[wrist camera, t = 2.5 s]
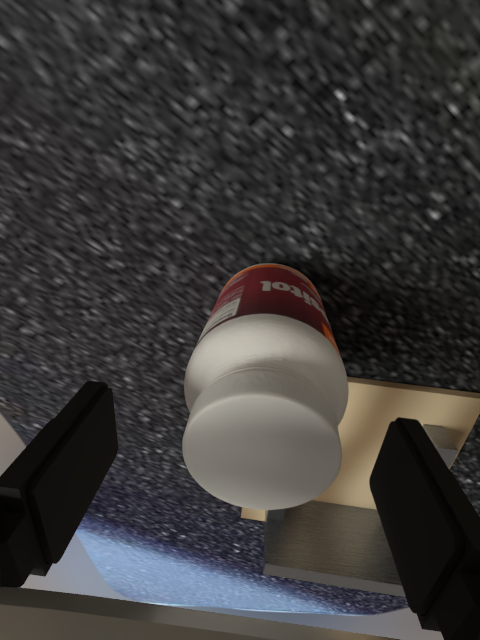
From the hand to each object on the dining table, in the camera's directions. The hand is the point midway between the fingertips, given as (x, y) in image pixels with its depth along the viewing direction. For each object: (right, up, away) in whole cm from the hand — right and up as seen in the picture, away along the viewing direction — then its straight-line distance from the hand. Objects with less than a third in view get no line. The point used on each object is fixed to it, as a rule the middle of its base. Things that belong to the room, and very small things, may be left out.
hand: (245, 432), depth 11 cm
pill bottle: (+2, +4, +9) cm, 10 cm away
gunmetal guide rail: (+8, -6, +13) cm, 16 cm away
